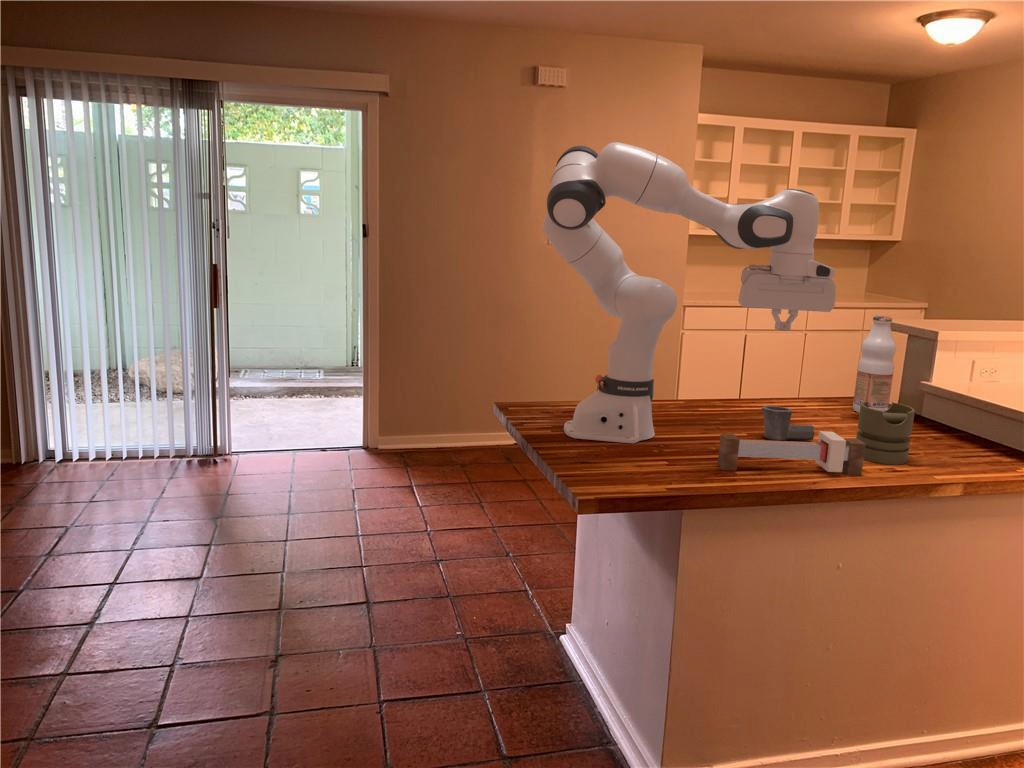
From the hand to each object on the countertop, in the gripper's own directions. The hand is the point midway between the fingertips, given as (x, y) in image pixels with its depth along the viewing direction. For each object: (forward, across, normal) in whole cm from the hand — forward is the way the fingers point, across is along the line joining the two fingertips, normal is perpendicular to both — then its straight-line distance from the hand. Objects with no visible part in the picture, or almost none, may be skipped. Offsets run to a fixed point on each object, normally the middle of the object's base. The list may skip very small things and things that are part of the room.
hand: (782, 330), depth 171 cm
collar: (+29, +11, -8) cm, 32 cm away
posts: (+29, +2, -8) cm, 31 cm away
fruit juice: (+28, +46, +50) cm, 74 cm away
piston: (+29, +28, +4) cm, 41 cm away
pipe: (+29, +10, +16) cm, 35 cm away
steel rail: (+27, +2, -8) cm, 28 cm away
